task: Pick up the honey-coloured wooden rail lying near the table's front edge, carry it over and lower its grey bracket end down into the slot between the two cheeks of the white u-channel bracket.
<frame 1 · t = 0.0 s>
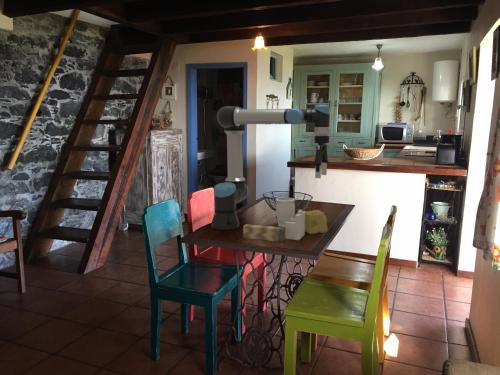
hand: (321, 176, 218), 28 cm above the table, tool pointing down, fingers open, 13 cm apart
white cup: (285, 226, 230), on the table
cheese: (313, 231, 219), on the table
rail: (264, 238, 205), on the table
white u-channel bracket: (296, 236, 208), on the table
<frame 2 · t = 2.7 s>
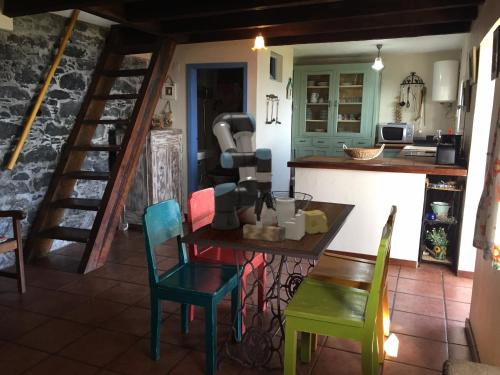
hand: (264, 224, 203), 7 cm above the table, tool pointing down, fingers open, 13 cm apart
nothing on the table moved.
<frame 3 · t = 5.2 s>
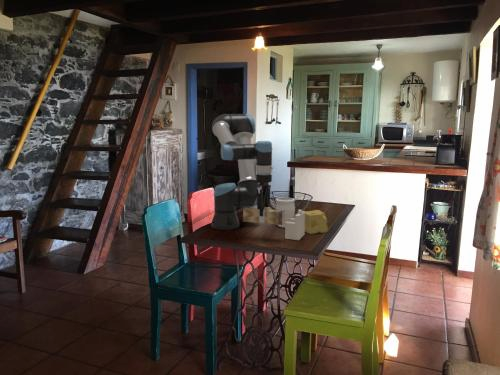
hand: (263, 221, 204), 9 cm above the table, tool pointing down, fingers closed on rail, 4 cm apart
rail: (263, 222, 204), point 8 cm above the table, touching gripper
everything else where it was.
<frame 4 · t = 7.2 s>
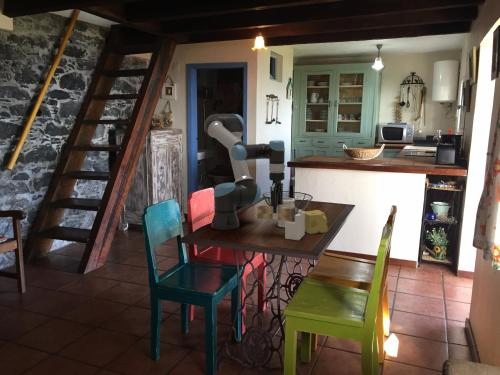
hand: (276, 218, 210), 9 cm above the table, tool pointing down, fingers closed on rail, 4 cm apart
rail: (277, 219, 210), point 8 cm above the table, touching gripper
everything else where it was.
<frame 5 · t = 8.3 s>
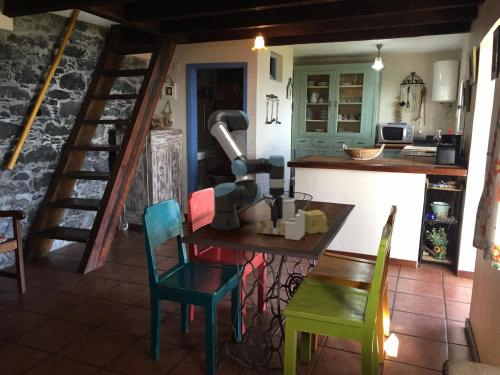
hand: (276, 232, 211), 1 cm above the table, tool pointing down, fingers closed on rail, 4 cm apart
rail: (277, 233, 212), point 1 cm above the table, touching gripper
everything else where it was.
when the fingers open (0 cm above the table, at t = 9.6 s): rail stays where it is, on the table.
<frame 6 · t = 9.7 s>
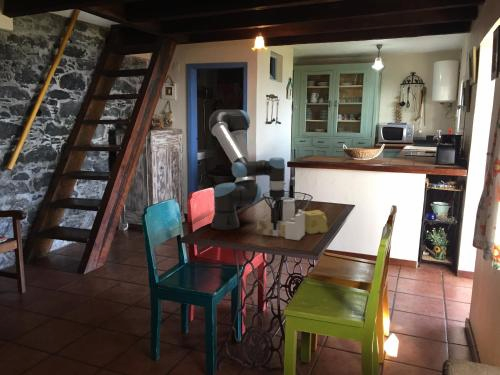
hand: (277, 234, 212), 0 cm above the table, tool pointing down, fingers open, 4 cm apart
rail: (277, 234, 212), on the table, touching gripper
everything else where it was.
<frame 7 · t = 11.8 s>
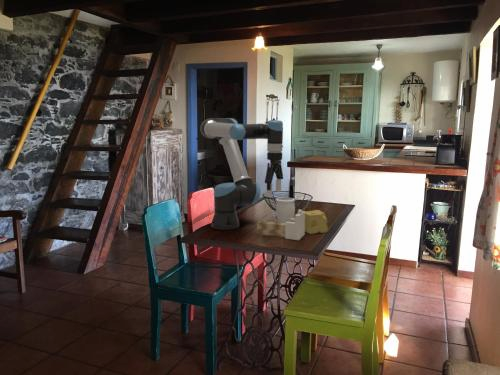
hand: (273, 194, 212), 20 cm above the table, tool pointing down, fingers open, 13 cm apart
rail: (277, 235, 212), on the table
everything else where it was.
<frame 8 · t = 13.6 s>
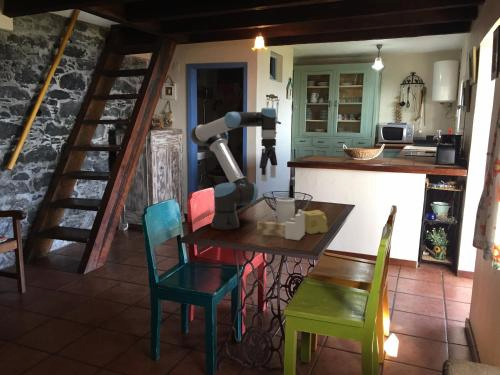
hand: (268, 179, 219), 27 cm above the table, tool pointing down, fingers open, 13 cm apart
nothing on the table moved.
at the end: rail 0.3 cm from the target spot on the table beside the white u-channel bracket, on the table; rail tilted 0°; the gripper is holding nothing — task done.
